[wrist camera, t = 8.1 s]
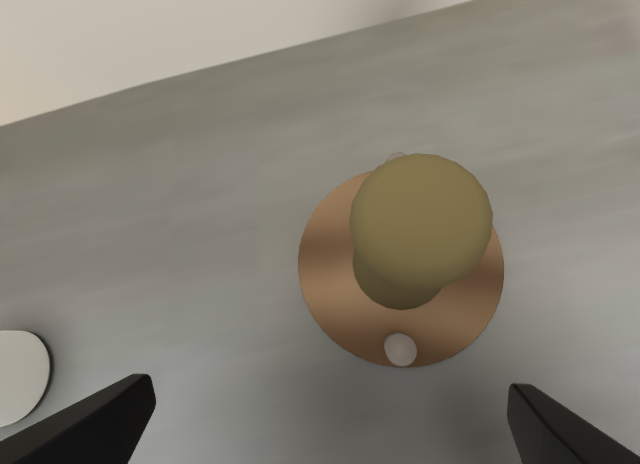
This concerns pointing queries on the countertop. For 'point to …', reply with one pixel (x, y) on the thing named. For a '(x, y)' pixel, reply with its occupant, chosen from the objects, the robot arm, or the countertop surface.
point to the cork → (417, 229)
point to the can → (21, 374)
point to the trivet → (374, 319)
